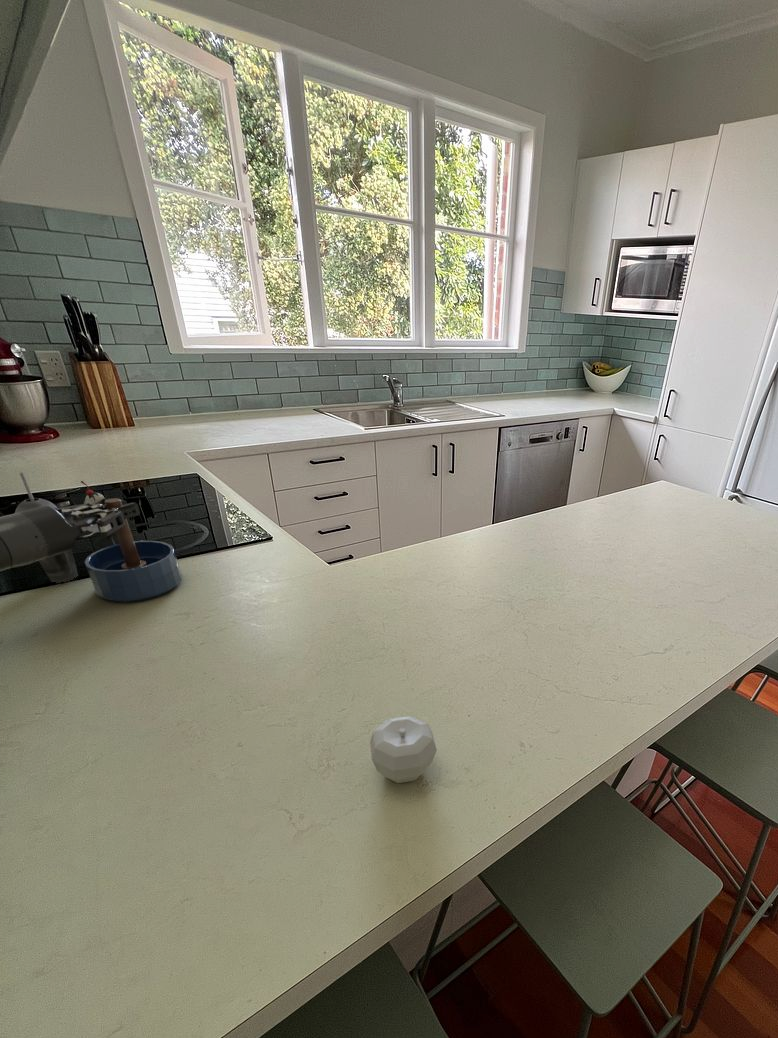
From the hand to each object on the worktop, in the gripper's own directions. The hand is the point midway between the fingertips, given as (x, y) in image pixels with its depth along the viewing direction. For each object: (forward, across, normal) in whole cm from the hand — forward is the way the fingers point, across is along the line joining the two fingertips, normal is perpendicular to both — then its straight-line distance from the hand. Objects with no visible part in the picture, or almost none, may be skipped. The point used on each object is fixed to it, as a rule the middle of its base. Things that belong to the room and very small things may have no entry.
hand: (131, 507), depth 97 cm
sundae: (+5, +20, +15) cm, 25 cm away
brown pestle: (-3, 0, +13) cm, 13 cm away
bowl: (-3, 0, +15) cm, 15 cm away
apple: (-20, -70, +15) cm, 74 cm away
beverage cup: (-7, +16, +15) cm, 23 cm away
